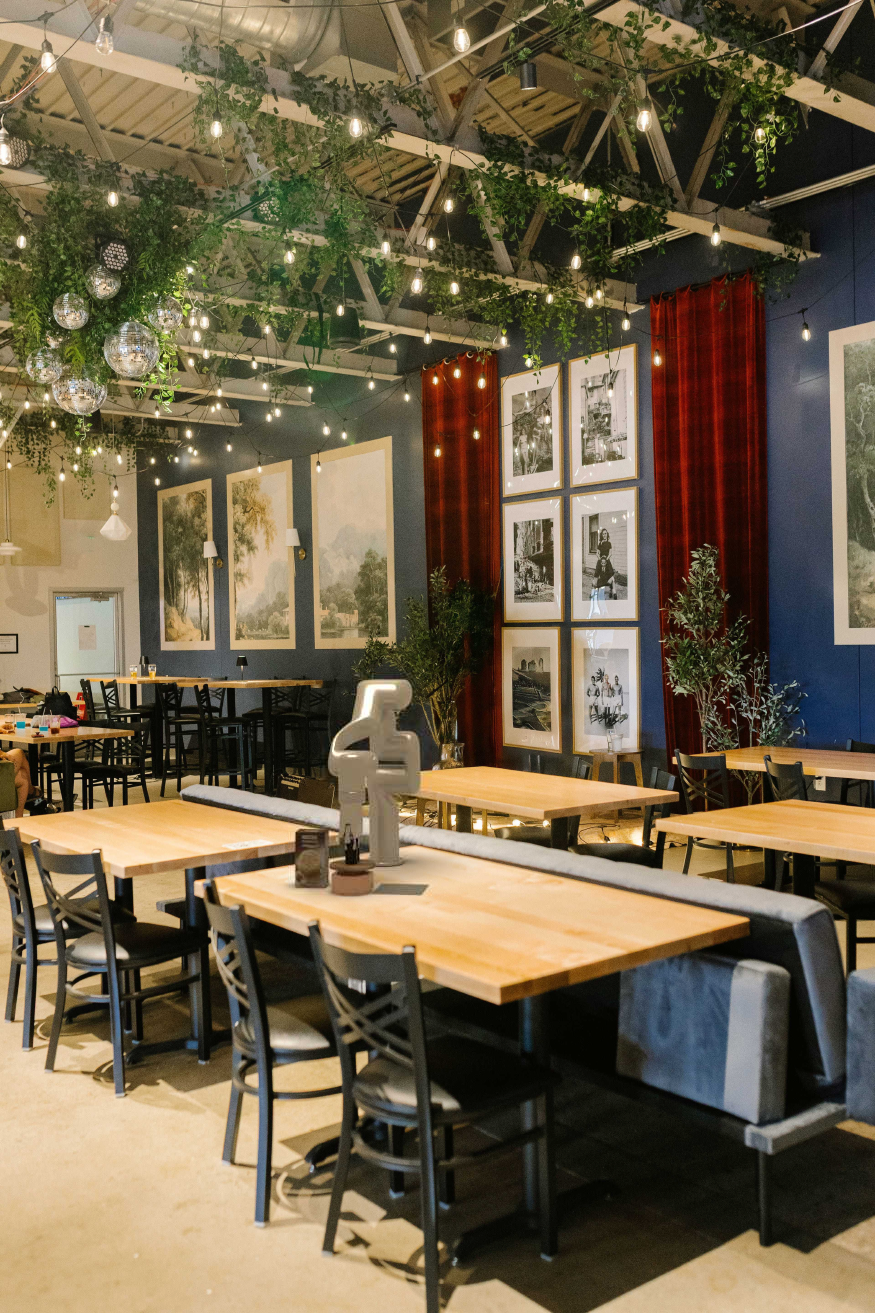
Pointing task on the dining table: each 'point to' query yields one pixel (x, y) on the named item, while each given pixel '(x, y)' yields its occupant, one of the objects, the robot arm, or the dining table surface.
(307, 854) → the coffee box
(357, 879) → the bowl
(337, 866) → the lid
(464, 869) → the dining table surface
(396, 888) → the mat
